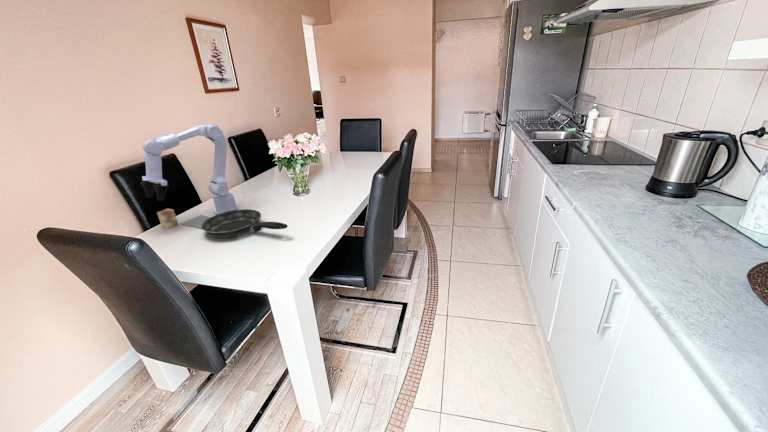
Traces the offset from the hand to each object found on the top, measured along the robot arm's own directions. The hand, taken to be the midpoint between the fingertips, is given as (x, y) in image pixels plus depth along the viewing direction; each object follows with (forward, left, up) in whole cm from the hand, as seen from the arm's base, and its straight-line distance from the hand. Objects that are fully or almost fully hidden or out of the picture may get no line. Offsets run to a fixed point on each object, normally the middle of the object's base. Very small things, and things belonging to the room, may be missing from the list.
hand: (155, 199), depth 140 cm
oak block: (-3, -2, -15) cm, 16 cm away
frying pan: (-13, +37, -16) cm, 43 cm away
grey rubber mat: (-12, +9, -15) cm, 22 cm away
